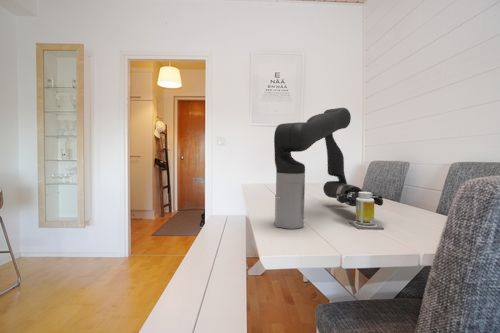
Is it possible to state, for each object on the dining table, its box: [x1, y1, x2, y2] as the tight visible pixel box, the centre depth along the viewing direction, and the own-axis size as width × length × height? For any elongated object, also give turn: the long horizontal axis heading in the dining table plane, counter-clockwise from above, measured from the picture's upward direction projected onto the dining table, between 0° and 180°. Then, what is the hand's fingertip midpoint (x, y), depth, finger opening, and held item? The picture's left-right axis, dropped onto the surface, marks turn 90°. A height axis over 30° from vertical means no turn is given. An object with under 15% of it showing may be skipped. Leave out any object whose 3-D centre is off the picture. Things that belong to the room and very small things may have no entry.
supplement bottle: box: [355, 191, 375, 225], centre depth 83 cm, size 6×6×10 cm
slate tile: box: [347, 220, 384, 231], centre depth 83 cm, size 8×8×1 cm
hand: (367, 202), depth 81 cm, fingers open, 8 cm apart
